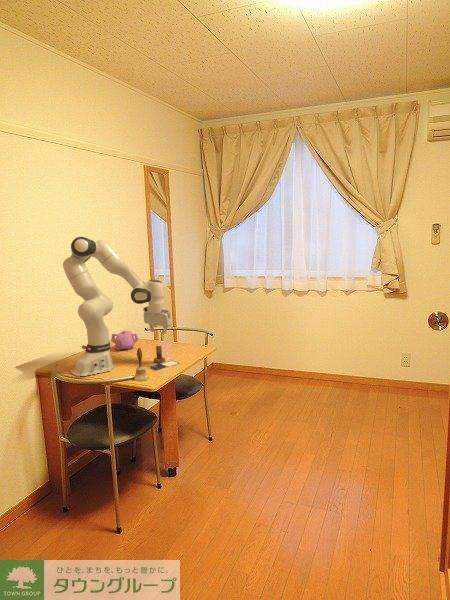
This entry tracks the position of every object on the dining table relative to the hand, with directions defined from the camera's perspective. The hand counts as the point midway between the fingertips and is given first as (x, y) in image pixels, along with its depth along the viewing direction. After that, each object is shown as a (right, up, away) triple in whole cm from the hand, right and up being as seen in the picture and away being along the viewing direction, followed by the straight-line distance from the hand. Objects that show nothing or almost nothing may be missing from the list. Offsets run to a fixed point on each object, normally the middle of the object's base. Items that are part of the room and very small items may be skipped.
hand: (158, 332), depth 230 cm
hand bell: (-5, -22, -23) cm, 32 cm away
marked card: (+7, -18, -1) cm, 19 cm away
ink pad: (+1, -19, -7) cm, 20 cm away
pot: (-27, -13, +32) cm, 44 cm away
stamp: (0, -17, +3) cm, 17 cm away
